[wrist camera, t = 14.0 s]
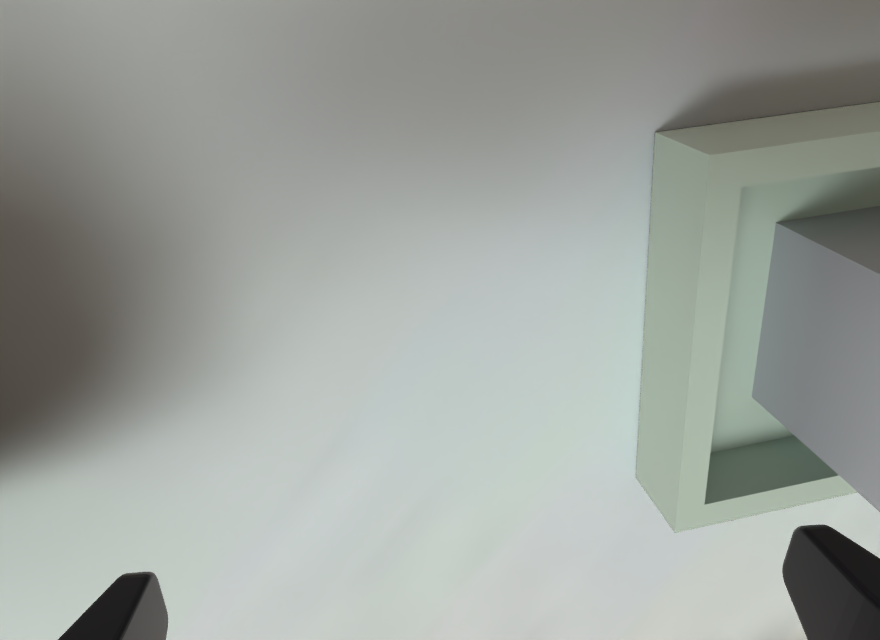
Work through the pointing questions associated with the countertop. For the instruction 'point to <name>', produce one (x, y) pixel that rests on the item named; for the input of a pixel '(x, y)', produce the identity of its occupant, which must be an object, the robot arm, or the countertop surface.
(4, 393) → the countertop surface
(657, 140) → the tray
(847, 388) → the grey rectangular block
